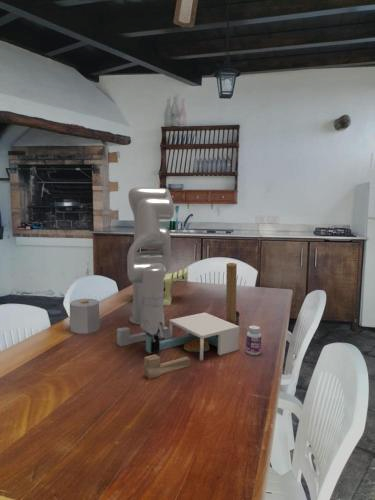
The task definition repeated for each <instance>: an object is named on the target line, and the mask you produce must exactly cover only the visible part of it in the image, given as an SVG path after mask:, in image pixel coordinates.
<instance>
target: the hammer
mask: <svg viewBox="0 0 375 500" xmlns="http://www.w3.org/2000/svg"><path fill="white" fill-rule="evenodd" d="M237 266H238V265H237V263H235V262H228V263H226V277H225V278H226V285H225V286H226V293H225V294H226V299H225V300H226V301H225V302H226V303H225V304H226V306H225V307H226V310H225V311H226V313H225V314H226V318H225V321H227V322H230V323H232V324H235V325H237V326H239V320H240V319H239V318H240V312H239V311H238V310H237V271H238V270H237V269H238V268H237Z"/></svg>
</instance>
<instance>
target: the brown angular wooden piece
mask: <svg viewBox="0 0 375 500" xmlns="http://www.w3.org/2000/svg"><path fill="white" fill-rule="evenodd" d="M143 364H144V366H143V367H144V370H143V371H144V376H145V377H146V378H148V379H149V380H150V379H153V378H156V377H159V376H161V375H164V374H167V373H170V372H175V371H177V370H181V369H183V368H186V367H190V365H191V358H189V356H183V357H180V358H177V359H173V360H169V361H167V362H162V363H161V356H160V355H158V354H156V353H155V354H154V353H153V354H152V355H147V356H144V363H143Z"/></svg>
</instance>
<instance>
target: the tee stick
mask: <svg viewBox="0 0 375 500" xmlns="http://www.w3.org/2000/svg"><path fill="white" fill-rule="evenodd" d="M157 332H158V331H157ZM163 334H164V337H163V338H162V339H163V340H167V339H169V337H170V327H167V326H166V325H164V332H163ZM143 341H146V337H145V331H144V332H140V333H135V334H131V329H130V328H129V327H128V326H125V327H120V328H117V329H116V344H117V345H118V346H119V347H124V346H125V347H126V346H129V345H131V344H135V343H140V342H143Z"/></svg>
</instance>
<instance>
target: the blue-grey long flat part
mask: <svg viewBox="0 0 375 500" xmlns="http://www.w3.org/2000/svg"><path fill="white" fill-rule="evenodd" d="M156 336H157V335H155V337H156ZM194 339H200V338H199V337H197V336H195V335H193V334H188V335H187V334H184V335H181V336H176V337H173V338H171V339H169V338H167V339H163V340H160V350H159V351H161V350H166V349H169V348H173V347H178V346H182V345H185V344H186V343H188V342H191V341H193V340H194ZM206 339H207V340H208V344H209V345H212V346H214V347H215V348H218V335H214V336H211V337H207V338H206ZM151 341H152V335H151V334H148V335H146V340H145V351H146V352H147V353H148V354H154V352H151ZM157 352H158V351H156V352H155V353H157Z"/></svg>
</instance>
